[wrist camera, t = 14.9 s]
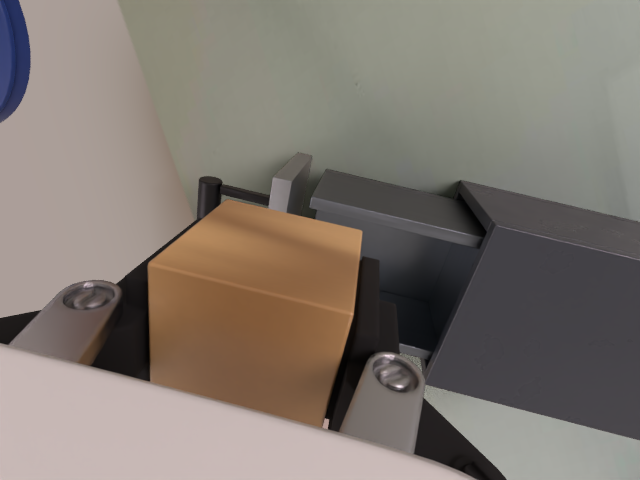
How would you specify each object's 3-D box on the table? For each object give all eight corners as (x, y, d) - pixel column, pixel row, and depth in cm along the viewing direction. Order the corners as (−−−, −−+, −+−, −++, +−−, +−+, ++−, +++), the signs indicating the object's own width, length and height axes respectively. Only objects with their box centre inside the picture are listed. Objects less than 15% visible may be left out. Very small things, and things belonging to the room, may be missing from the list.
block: (217, 310, 13) (149, 409, 9) (226, 198, 11) (145, 262, 8) (334, 339, 13) (315, 453, 9) (363, 229, 11) (354, 313, 7)
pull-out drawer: (217, 257, 34) (175, 305, 27) (228, 135, 29) (181, 154, 22) (430, 311, 33) (444, 374, 26) (477, 194, 28) (511, 233, 21)
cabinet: (411, 306, 34) (423, 384, 26) (460, 179, 29) (496, 224, 20) (577, 348, 34) (646, 442, 25) (658, 226, 28) (782, 292, 20)
